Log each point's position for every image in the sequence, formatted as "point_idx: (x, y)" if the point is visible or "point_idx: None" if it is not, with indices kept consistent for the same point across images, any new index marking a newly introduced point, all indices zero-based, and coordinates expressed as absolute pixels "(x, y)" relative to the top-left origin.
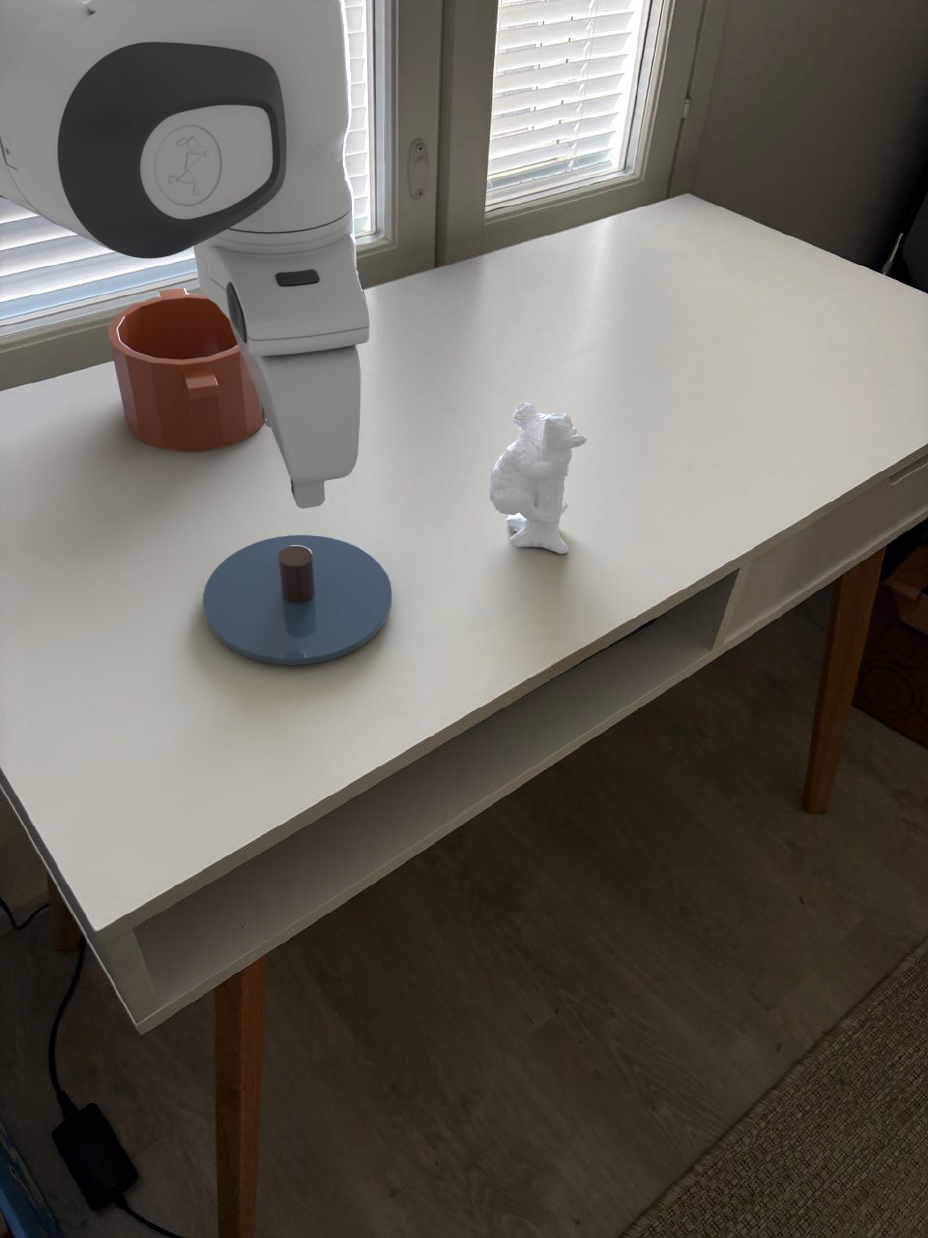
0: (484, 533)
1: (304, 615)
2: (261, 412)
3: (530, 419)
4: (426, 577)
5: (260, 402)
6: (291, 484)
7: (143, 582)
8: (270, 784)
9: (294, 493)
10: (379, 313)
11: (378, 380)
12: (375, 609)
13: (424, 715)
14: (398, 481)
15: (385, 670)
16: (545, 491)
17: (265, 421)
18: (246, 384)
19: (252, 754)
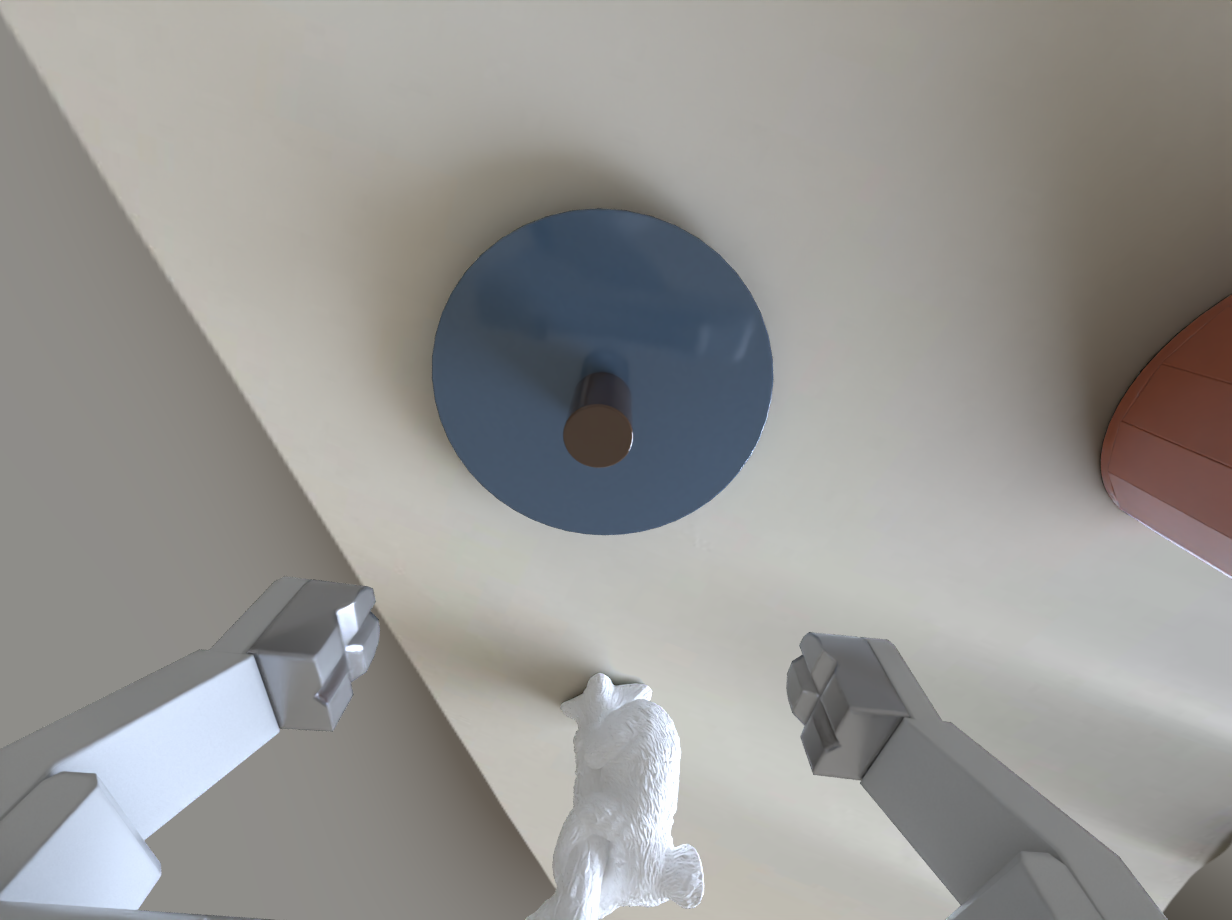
0: (642, 655)
1: (539, 389)
2: (878, 655)
3: (661, 886)
4: (588, 568)
5: (900, 697)
6: (323, 619)
7: (813, 108)
8: (186, 190)
9: (272, 609)
10: (1216, 739)
11: (1059, 679)
12: (516, 492)
13: (315, 464)
14: (809, 615)
15: (415, 452)
16: (583, 782)
17: (819, 646)
18: (1225, 545)
19: (259, 182)
